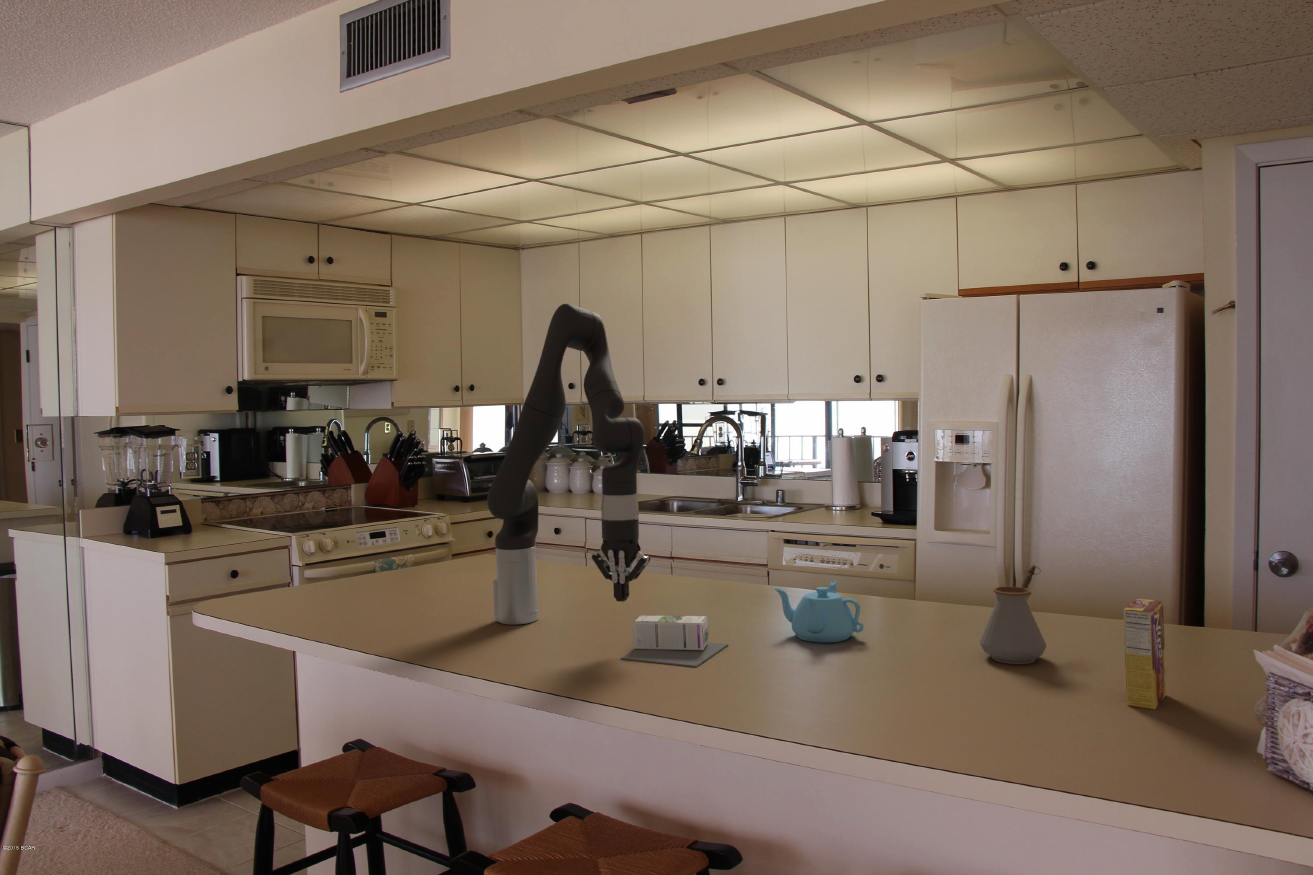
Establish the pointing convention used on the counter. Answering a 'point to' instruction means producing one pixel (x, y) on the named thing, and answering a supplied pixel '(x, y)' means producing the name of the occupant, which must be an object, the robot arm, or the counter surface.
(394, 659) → the counter surface
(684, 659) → the mat
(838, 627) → the teapot
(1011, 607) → the coffee pot
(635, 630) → the syrup box
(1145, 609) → the candy box
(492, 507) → the robot arm
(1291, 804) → the counter surface
